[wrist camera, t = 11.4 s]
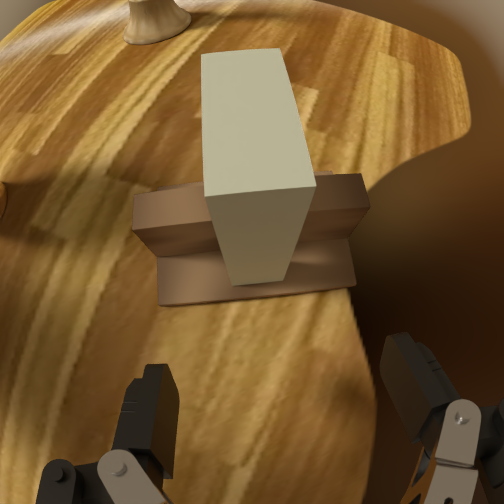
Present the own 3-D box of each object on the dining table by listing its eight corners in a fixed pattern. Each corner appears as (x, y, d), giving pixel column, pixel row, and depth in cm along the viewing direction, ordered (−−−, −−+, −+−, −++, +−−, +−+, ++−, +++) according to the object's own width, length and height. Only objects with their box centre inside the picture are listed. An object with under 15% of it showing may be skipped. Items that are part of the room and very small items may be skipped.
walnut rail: (160, 306, 19) (131, 289, 14) (160, 191, 21) (138, 149, 17) (353, 286, 19) (384, 263, 14) (330, 175, 22) (347, 130, 17)
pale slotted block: (283, 280, 19) (316, 186, 8) (232, 286, 19) (204, 196, 8) (269, 185, 21) (279, 48, 10) (223, 190, 21) (201, 54, 10)
